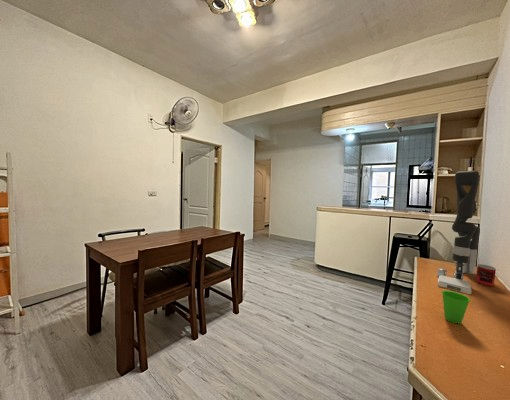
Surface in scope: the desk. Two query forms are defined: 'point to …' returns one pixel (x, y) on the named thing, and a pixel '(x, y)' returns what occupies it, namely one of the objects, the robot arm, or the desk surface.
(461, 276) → the cylinder
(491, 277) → the canned food
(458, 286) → the scale
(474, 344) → the desk surface
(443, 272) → the disc
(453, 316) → the cup
